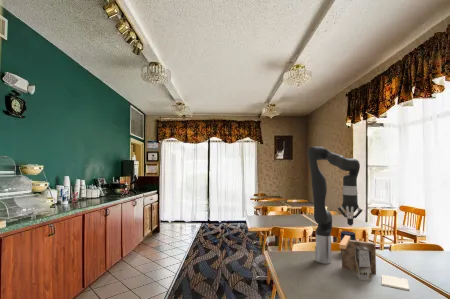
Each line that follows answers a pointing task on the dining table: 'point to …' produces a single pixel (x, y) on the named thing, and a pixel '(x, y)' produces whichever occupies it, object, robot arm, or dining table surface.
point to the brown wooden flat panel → (349, 255)
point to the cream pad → (395, 282)
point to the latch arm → (344, 242)
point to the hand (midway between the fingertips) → (350, 225)
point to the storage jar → (347, 233)
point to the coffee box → (363, 263)
